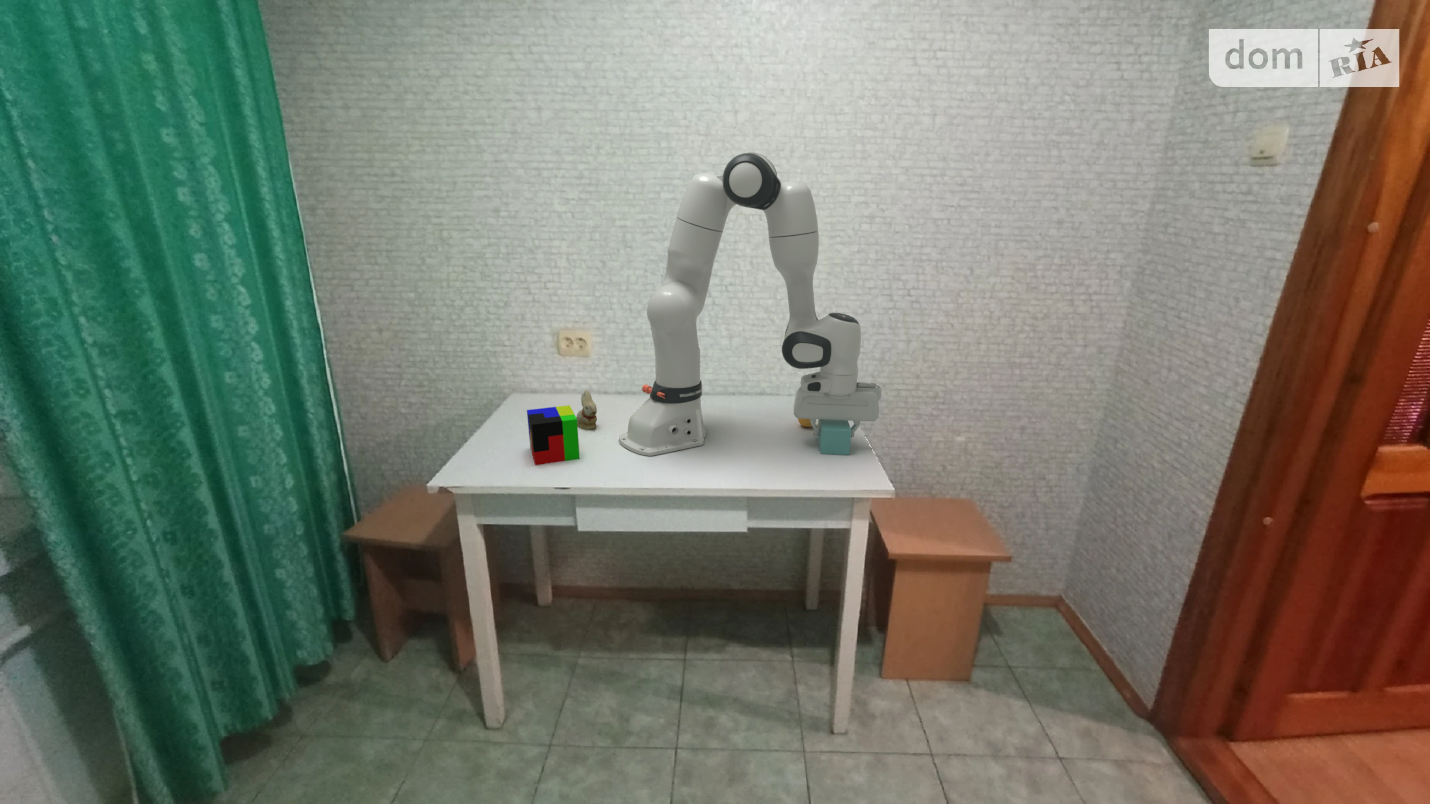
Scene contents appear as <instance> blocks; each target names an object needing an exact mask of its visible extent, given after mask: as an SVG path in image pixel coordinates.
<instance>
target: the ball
mask: <svg viewBox="0 0 1430 804" xmlns="http://www.w3.org/2000/svg"><path fill="white" fill-rule="evenodd" d="M817 420H818V419H816V421H817ZM797 422H798V423H799V424H800V425H801V426H803V427H805V428H810V427H812V425H811V423H810V419H799V418H797Z"/></svg>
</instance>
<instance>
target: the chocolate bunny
mask: <svg viewBox="0 0 1430 804" xmlns="http://www.w3.org/2000/svg"><path fill="white" fill-rule="evenodd" d="M580 397H581V398H580V399H581V401H580V402H581V406H582V409H580V410H578V412H577V414H576V418H577V426H578V429H579V428H580V429H581V430H586V431H592V430H595V429H596V428H597V420H598V419H597V418H598V417H597V411H598V409H597V404H596V403H595V402H594V400H593V398H592V394H591V392H590V391H589V390H587V389H586V390H584V391H583V392H582V393H581V396H580Z"/></svg>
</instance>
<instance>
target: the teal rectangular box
mask: <svg viewBox="0 0 1430 804" xmlns="http://www.w3.org/2000/svg"><path fill="white" fill-rule="evenodd" d="M817 420H818V421H817V422H818V424H817V427H820V436H816V438H817V443H818V449H819V453H820V454H821V455H822V454H823V455H838V456H839V455H843V456H850V451H851V440H852V437H851V426H850V423H849V421H848V420H823V419H817Z"/></svg>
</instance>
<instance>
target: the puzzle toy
mask: <svg viewBox="0 0 1430 804" xmlns="http://www.w3.org/2000/svg"><path fill="white" fill-rule="evenodd" d="M526 414H527V426H528V427H527V428H528V437H529V449H530V452H531V455H532V459H533V461H534V465H535V466H539V465H540V466H541V465H547V464H554V463H560V462H568V461H575V460H580V458H581V457H580V443H579V427H578V426H577V418H576V417H577V415H575V413H574V411H573V408H572V407H571V405H570V404H569V405H559V406H558V405H557V406H550V407H542V408H533V409H526Z"/></svg>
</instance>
